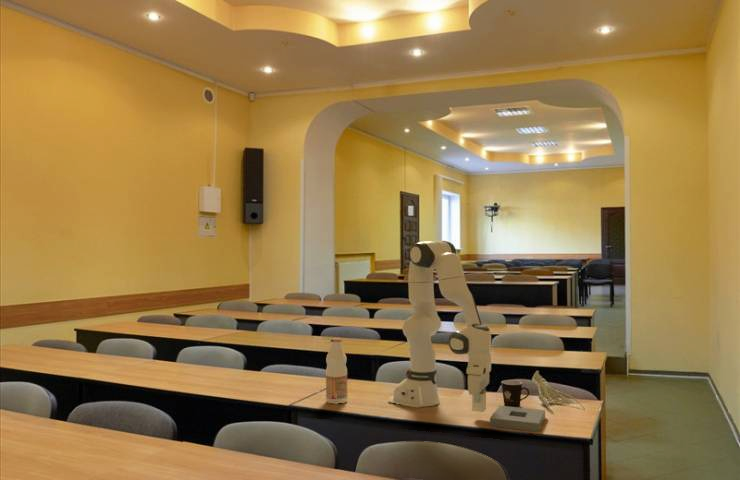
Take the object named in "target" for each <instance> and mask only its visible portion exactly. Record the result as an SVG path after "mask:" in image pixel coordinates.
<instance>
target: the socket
mask: <svg viewBox="0 0 740 480" xmlns="http://www.w3.org/2000/svg"><path fill="white" fill-rule="evenodd" d="M545 419H546V409H535V408H526V407H508V406H504V405H498V407H497V408H496V409H495V411H494V412H493V413H492V415H491V416H490V417H489V426H490V427H495V428H497V427H498V428H504V429H514V430H520V431H521V430H523V431H529V432H538V433H539V432H540V430H541V428H542V426H543V424H544V422H545Z"/></svg>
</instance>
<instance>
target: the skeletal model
mask: <svg viewBox="0 0 740 480" xmlns="http://www.w3.org/2000/svg"><path fill="white" fill-rule="evenodd" d="M539 372H540V370H536V371H535V372H534V374H533V376H532V378H531V380H532V382H533V383H534V384H535V385H536V386H537V389H538V399H539V401H540V402H541V403H542V404H543V405H544V406H546V407H547V408H548V410H549V411H550V412H551V413H552V414H554V411H553V410H552V409H551V405H550V404H553V405H554V404H557V405H558V404H559V405H560V404H564V405H568V406H569V405H580V406H581V407H582V408H583V410H584V411H585V410H586V409H585V407H584V406H583V405H582V403H580V401H578V400H577V399H576V398H575V397H573V396H571V395H570V394H568V393H565V392H562V391H559V390H557V389H555V388H552V386H550V385H549V384H548V381H547V380H546V379H545V378H543V377H542V375H540V373H539ZM564 395H565V396H564ZM558 396H560V397H561V399H559V397H558ZM566 396H568V397H569V398H568V397H566ZM570 398H572V399H570ZM546 399H547V400H546Z"/></svg>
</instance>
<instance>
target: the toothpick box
mask: <svg viewBox="0 0 740 480" xmlns="http://www.w3.org/2000/svg"><path fill="white" fill-rule="evenodd" d="M471 396H472V397H471V398H472V400H471V401H472V403H471V404H472V405H471V407H472V408H471V411H472V412H480V413H484V412H485V411H486V409H487V388H485V389H483V390H482V391H481V392H480V395H479V396H480V402H479V403H475V398H474V395H471Z"/></svg>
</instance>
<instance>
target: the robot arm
mask: <svg viewBox="0 0 740 480" xmlns="http://www.w3.org/2000/svg"><path fill="white" fill-rule="evenodd" d="M408 254H409V255H408V256H409V259H410V261H409V267H408V277H407V279H408V301H409V302H410V304H411V306H412V311H413V314H412V315H411V316H409V317H408V318H406V320H404V322H403V325H402V333H403V335H404V337H406V339H407V344H408V349H409V350H408V351H409V360H410V361H409V363H410V364H409V366H410V368H409V369H408V370H406V371H405V374H404V375H405V376H406V378H404V379H403V380H402V381H401V382H399V383H398V384H397V385H395V387H394V390H393V395H391V396H389V398H388V403H389V402H390V403H389V404H393V403H396V404H395V405H399V404H401V405H400V406H407V407H410V408H411V407H412V408H422V407H423V408H424V407H432V406H435V405H439V404H440V403H441V402H440V401H441V400H440V397H439V394H438V386H437V381H438V374H437V373H438V371H437V369H436V366H437V365H436V351H435V350H434V347H433V343H432V339H431V338H432V336H434V335H436V333H438V332H439V330H440V329H441V326H442V321H441V318H440V317H439V315H438V311H437V306H436V302H435V291H434V290H435V289H434V285H435V283H434V271H436V276H437V282H438V288H439V291H440V294H441V296H442V297H443V298H444V299H445V300H447V301H448V302H449V301H450V302H451V303H454V304H455V305H457V306H458V307H460V309H461V310H462V313H463V317H464V320H465V324H466V326H467V327H466V328H463V329H459V330H455V331H453V332H452V333H450V334H449V337H448V347H449V350H450V351H451V352H452V353H454V355H455V354H456V355H467V356H468V363H467V367H466V374H467V391H468V394H469V395H471V396H472V395H474V398H475V403H479V402H480V396H479V395H480V392H481V391H482V390H483V389H486V387H487V386H488V385H489V384H490V372H491V371H492V356H491V350H492V333H491V330H490V327H488V326H487V325H485V324H482V321H481V320H482V319H481V317H480V314H479V310H478V308H477V304H476V301H475V298H474V295H473V293H472V292H471V291H470V290H469V287H468V284H467V282H466V277H465V272H464V268H463V264H462V262H461V259H460V257H459V255H457V249H456V247H455V245H454V244H453V243H451V242H450V241H447V240H430V241H429V240H428V241H419V242H415V243H414V244H413V245H411V247H410V249H409V253H408Z"/></svg>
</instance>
